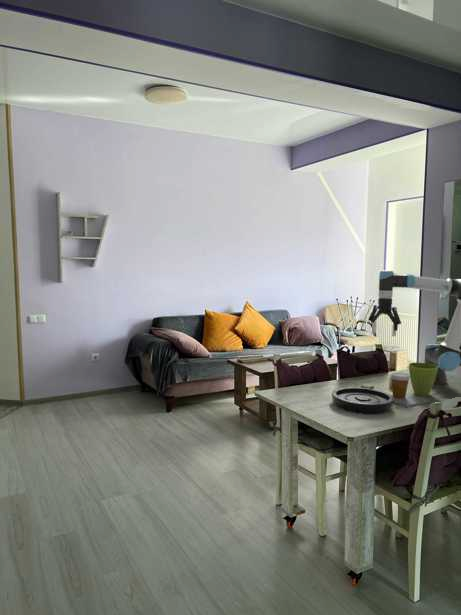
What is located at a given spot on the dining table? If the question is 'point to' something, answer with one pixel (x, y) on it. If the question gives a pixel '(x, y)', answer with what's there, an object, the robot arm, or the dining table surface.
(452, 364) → the robot arm
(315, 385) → the dining table surface
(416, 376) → the flower pot
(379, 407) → the round tray
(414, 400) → the slate board
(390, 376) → the light brown egg
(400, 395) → the disposable coffee cup
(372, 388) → the walnut block
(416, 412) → the dining table surface
